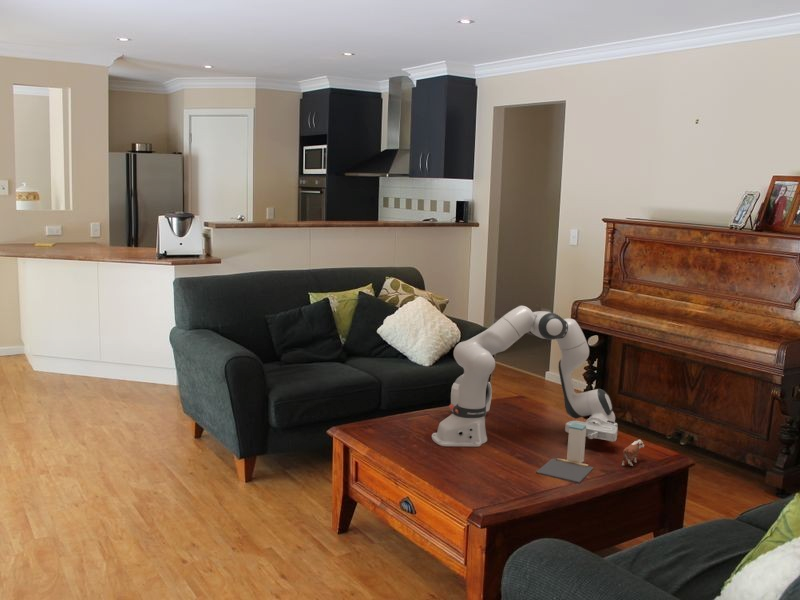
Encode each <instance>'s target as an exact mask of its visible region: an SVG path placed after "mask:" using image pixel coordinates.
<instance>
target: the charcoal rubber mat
mask: <svg viewBox="0 0 800 600" xmlns="http://www.w3.org/2000/svg"><path fill="white" fill-rule="evenodd" d="M556 459H557V458H551V459H550V460H549V461H547V462H546V463H545V464H544V465H542V466H541V467H540V468H538V470H537V471H535V472H536V473H535V474H538V475H543V476H547V477H552V478H556V479H558V480H559V479H560V480H564V481H568V482H572V483H575V484H580V483H581V482H582V481H583V480H584V479H586V477H588V475H589V474H590V473H591V472H592V471H593V470H594V469H595V467H594V466H588V467H584V466H580V465H575V464H571V463H566V462H562V461H557V460H556Z"/></svg>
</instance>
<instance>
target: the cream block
mask: <svg viewBox="0 0 800 600" xmlns="http://www.w3.org/2000/svg"><path fill="white" fill-rule="evenodd" d="M567 436H568V438H567V439H568V441H567V451H566V452H567V453H566V454H567V455H566V460H570V461H574V462H579V463H584V460H585V452H586V450H585V449H586V448H585V447H586V437H587V436H586V425H581V424H576V423H573V424H572V425H570V426H569V433H568V435H567Z"/></svg>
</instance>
